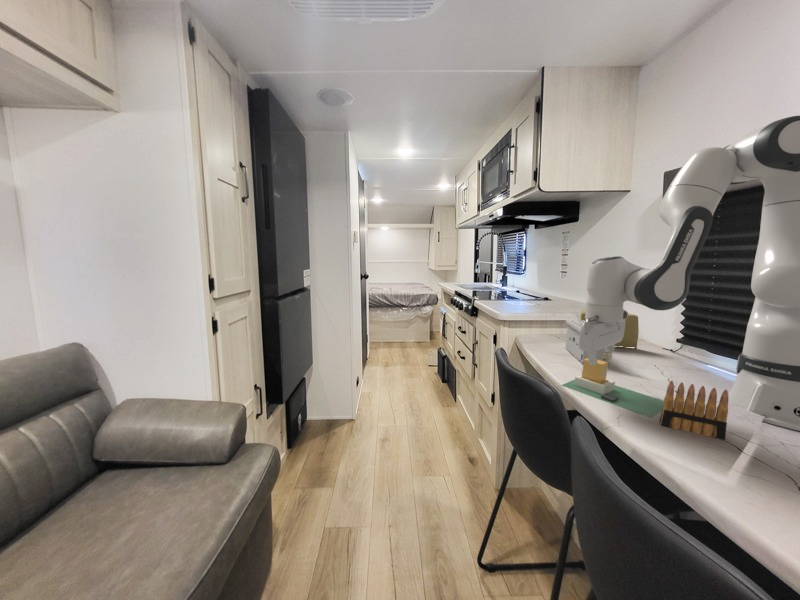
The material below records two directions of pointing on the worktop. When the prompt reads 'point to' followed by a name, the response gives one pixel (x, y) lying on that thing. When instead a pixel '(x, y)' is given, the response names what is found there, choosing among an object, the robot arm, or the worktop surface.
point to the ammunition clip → (695, 411)
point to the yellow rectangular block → (595, 371)
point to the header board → (617, 396)
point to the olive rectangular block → (629, 332)
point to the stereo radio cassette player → (573, 340)
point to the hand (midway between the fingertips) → (600, 361)
